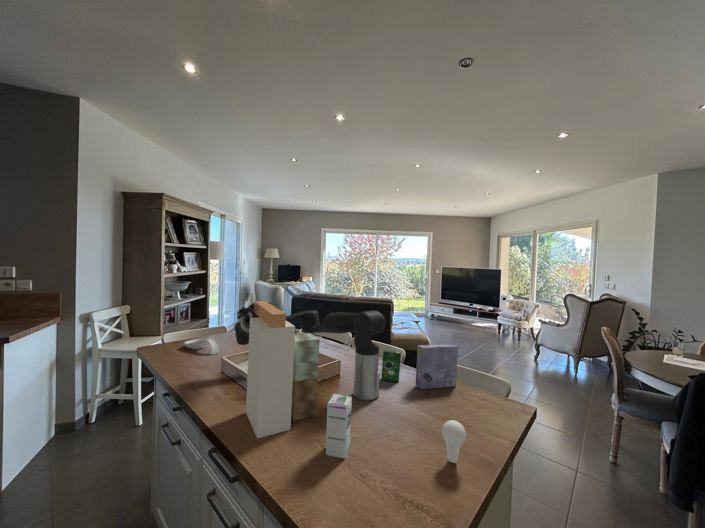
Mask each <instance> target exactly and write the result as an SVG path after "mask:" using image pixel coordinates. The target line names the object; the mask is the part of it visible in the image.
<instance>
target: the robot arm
mask: <svg viewBox="0 0 705 528" xmlns="http://www.w3.org/2000/svg"><path fill="white" fill-rule="evenodd" d="M268 303H269V304H271V305H273V304H272V302H268ZM319 317H320V316H319V312H318V310H313V309H310V310H304V311H300V312H296V313H293V314H290V315H286V321H288V322H289V323H291V324H292V323H294V322H295V321H297V320H299V322H300V328H301V332H302V333H303V334H308V333H311V334H321V333H326V334H349V333H353V342H354V348H355V353H354V354H355V356H354V358H355V359H354V373H353V375H354V376H353V397H354V398H355V399H357V400H359V401H360V400H361V401H366V402H367V401H373V400H375V399H378V398H379V397H380V378H381V377H380V375H381V374H380V372H379V359H380V358H379V357H380V346H379V344H378V343H375V342H373V335H377V334H379V333H381V332H382V331H383V330H384V328H385V326H386V322H387V321H386V318H385V316H384V314H382V313H381V312H379V311H377V310H366V311H361V312H358V313H356V312H342V311H340V312H339V311H338V312H330V313H328V314H326V316H324V317H323V319H322V320H321V322H320V319H319ZM236 318H237V320H240V321H238V322H236V323H235V325H234V331H235V340H236V343H237V344H238V345H240V346H246V345H249V329H250V318H260V317H259V316H258V315H257V314H256V313H254V302H251V304H249V305H248V306H247V307H244V306H243V307H241V308H240V309H239V310H237V312H236Z"/></svg>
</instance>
